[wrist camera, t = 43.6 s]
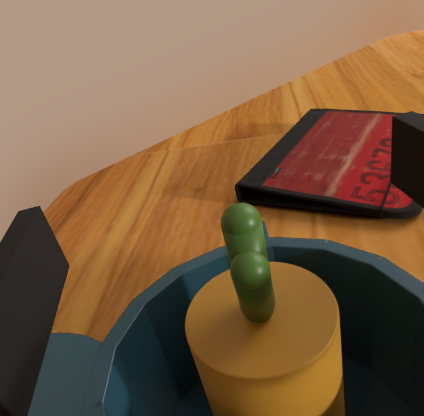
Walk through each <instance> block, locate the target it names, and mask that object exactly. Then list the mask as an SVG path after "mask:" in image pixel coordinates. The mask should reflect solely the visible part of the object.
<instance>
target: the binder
mask: <svg viewBox="0 0 424 416" xmlns="http://www.w3.org/2000/svg"><path fill="white" fill-rule="evenodd" d="M399 114H403V113H394V112H381V111H360V110H338V109H310V110H309V111H308V112H307V113H306V114H305V115H304V116H303V117H302V118H301V119H300V120H299V122H298V123H297V124H295V125H294V126H293V127H292V128H291V129H290V130H289V132H288V133H287V134H286V135H285V136H284V137H283V138H282V139H281V140H280V141H279V142H278V143H277V144H276V145H275V146H274V147H273V148H272V149H271V150H270V151H269V152H268V153H267V154H266V155H265V156H264V157H263V158H262V159H261V160H260V161H259V162H258V163H257V164H256V165H255V166H254V167H253V168H252V169H251V170H250V171H249V172H248V173H247V174H246V175H245V176H244V177H243V178H242V179H241V180H240V181H239V182H238V183H237V184H236V185H235V191H236V195H237V199H238V200H239V202H240V203H247V204H260V205H273V206H283V207H293V208H302V209H312V210H321V211H331V212H340V213H350V214H360V215H367V216H374V217H379V218H381V217H387V218H397V219H406V218H411V217H414V216H417V215H418V214H420V213H421V211H422V209H423V207H421V206H420V205H419V204H417V203H416V202H415V201H414V200H412V199H411V198H410V197H408V196H407V195H406V194H405V193H403V192H402V191H401V190H399V189H398V188H397V187H395V186H394V185H393V184H392V183H390V174H391V140H392V116H396V115H399ZM417 114H419V113H417ZM419 115H422V116H424V114H419Z"/></svg>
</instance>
